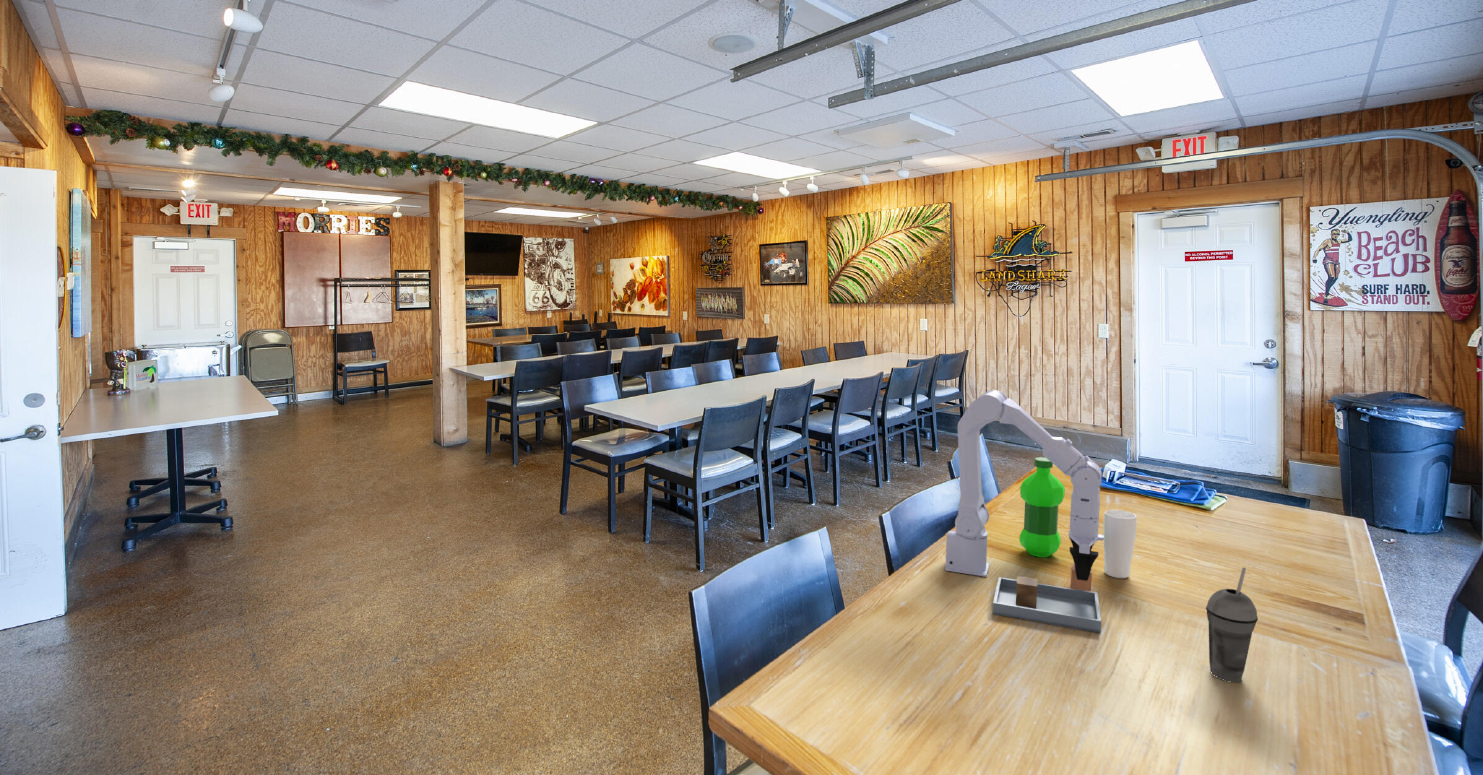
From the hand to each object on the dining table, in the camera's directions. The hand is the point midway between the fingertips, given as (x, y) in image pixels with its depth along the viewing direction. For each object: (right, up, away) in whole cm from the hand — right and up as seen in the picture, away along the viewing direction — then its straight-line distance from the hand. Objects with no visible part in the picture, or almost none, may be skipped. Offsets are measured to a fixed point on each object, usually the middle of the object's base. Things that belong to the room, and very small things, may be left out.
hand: (1081, 573), depth 150 cm
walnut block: (-16, -5, -7) cm, 18 cm away
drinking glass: (+12, -3, +8) cm, 15 cm away
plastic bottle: (0, -1, +21) cm, 21 cm away
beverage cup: (+8, -9, -34) cm, 36 cm away
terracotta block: (0, -4, +1) cm, 4 cm away
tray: (-12, -5, -9) cm, 16 cm away
